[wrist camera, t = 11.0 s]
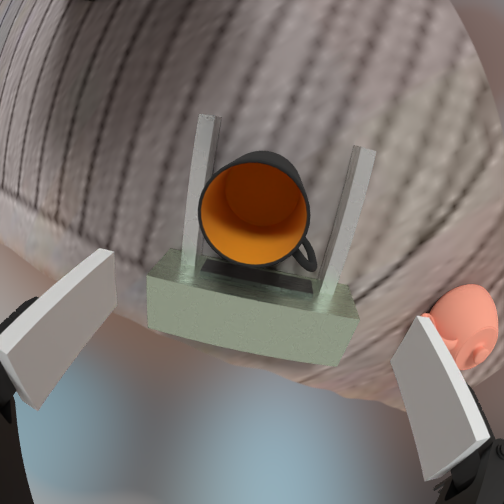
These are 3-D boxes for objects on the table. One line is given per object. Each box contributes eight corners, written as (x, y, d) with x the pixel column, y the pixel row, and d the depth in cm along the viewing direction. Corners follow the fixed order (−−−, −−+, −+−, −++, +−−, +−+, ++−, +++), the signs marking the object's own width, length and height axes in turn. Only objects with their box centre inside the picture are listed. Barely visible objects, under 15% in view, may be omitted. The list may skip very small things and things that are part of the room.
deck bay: (185, 113, 27) (159, 109, 21) (387, 156, 27) (414, 163, 21) (168, 295, 37) (147, 327, 30) (330, 329, 36) (336, 366, 30)
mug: (282, 263, 33) (281, 316, 24) (208, 187, 31) (175, 213, 21) (338, 218, 30) (362, 257, 21) (264, 134, 28) (255, 134, 18)
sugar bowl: (458, 346, 36) (482, 389, 27) (394, 340, 36) (414, 392, 27) (493, 283, 31) (529, 320, 22) (430, 266, 31) (467, 311, 22)
